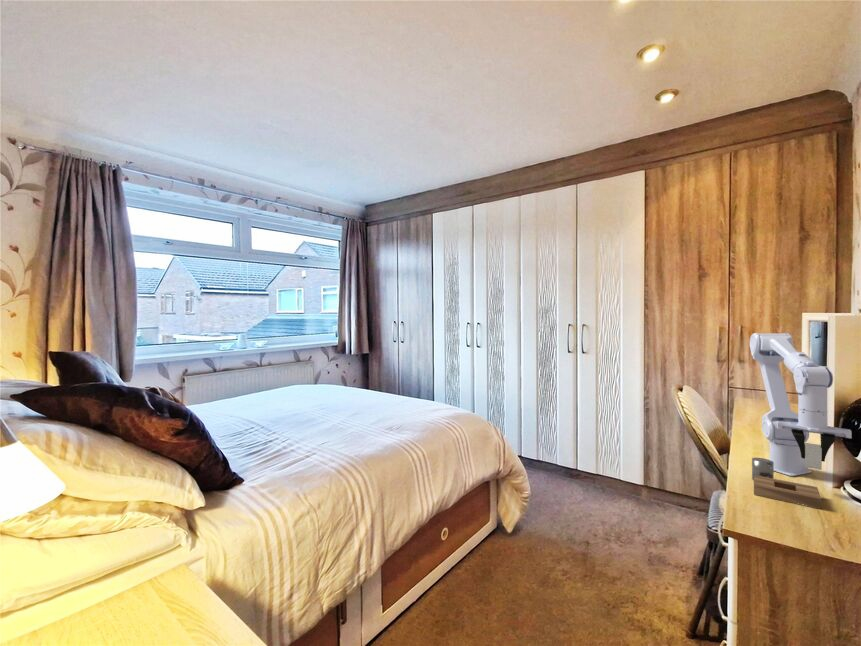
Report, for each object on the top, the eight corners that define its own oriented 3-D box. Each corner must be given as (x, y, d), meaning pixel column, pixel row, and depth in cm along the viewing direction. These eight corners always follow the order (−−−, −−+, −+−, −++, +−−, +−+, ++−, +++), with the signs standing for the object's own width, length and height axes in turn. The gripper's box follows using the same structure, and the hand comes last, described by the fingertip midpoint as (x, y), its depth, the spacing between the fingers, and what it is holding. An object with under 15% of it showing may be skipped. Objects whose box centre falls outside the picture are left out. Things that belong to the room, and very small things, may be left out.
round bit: (752, 476, 117) (752, 456, 117) (773, 480, 114) (773, 460, 114) (752, 481, 114) (752, 461, 113) (773, 485, 110) (773, 464, 110)
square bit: (804, 463, 109) (804, 442, 109) (820, 466, 107) (820, 444, 107) (805, 467, 107) (805, 445, 107) (821, 470, 105) (821, 447, 105)
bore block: (753, 483, 112) (753, 474, 112) (816, 496, 104) (816, 487, 104) (753, 494, 105) (753, 485, 105) (821, 509, 97) (821, 499, 97)
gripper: (778, 408, 108) (778, 457, 109) (854, 416, 99) (853, 469, 99) (776, 404, 114) (776, 450, 114) (848, 411, 105) (848, 461, 105)
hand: (812, 458), depth 107 cm, fingers closed on square bit, 3 cm apart
